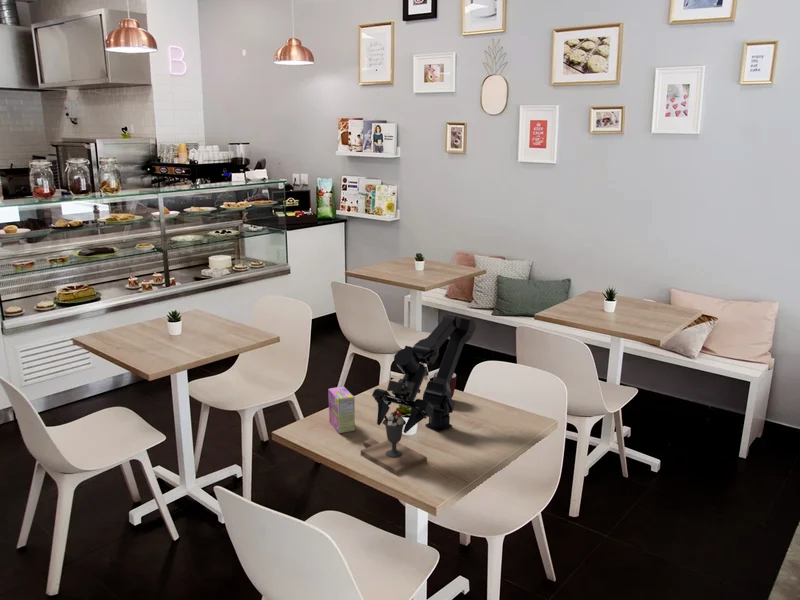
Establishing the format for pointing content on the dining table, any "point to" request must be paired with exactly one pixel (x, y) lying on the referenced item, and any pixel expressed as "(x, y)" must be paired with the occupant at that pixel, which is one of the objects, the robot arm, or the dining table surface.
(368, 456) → the board
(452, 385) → the mug
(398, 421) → the sundae
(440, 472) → the dining table surface
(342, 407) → the box
